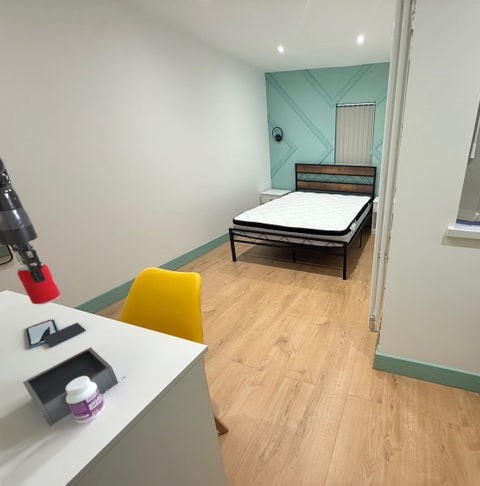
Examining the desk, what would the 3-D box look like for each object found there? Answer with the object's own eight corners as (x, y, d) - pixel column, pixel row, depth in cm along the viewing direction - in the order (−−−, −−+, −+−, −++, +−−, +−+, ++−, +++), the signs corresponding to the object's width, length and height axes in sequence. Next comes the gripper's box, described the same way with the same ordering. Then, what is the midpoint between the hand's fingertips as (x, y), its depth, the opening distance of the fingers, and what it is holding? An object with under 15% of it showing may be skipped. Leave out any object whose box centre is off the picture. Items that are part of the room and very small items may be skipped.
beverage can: (58, 292, 85) (43, 259, 80) (63, 298, 81) (48, 264, 77) (30, 301, 80) (13, 266, 76) (35, 308, 77) (16, 272, 72)
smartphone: (53, 318, 96) (60, 335, 87) (54, 320, 96) (61, 337, 87) (24, 328, 91) (28, 347, 82) (25, 330, 91) (29, 350, 82)
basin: (49, 426, 59) (39, 409, 57) (32, 398, 66) (22, 382, 64) (118, 382, 70) (111, 366, 68) (97, 361, 77) (90, 347, 75)
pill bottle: (100, 419, 61) (86, 389, 57) (72, 427, 59) (55, 397, 56) (109, 399, 66) (96, 370, 62) (83, 406, 64) (68, 377, 60)
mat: (50, 347, 82) (49, 345, 82) (43, 339, 86) (42, 337, 85) (85, 331, 89) (85, 329, 89) (78, 324, 93) (77, 322, 93)
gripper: (-15, 224, 72) (12, 277, 78) (-4, 233, 65) (25, 291, 71) (24, 218, 78) (46, 268, 84) (38, 225, 71) (61, 279, 77)
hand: (36, 278), depth 78 cm, fingers closed on beverage can, 6 cm apart
